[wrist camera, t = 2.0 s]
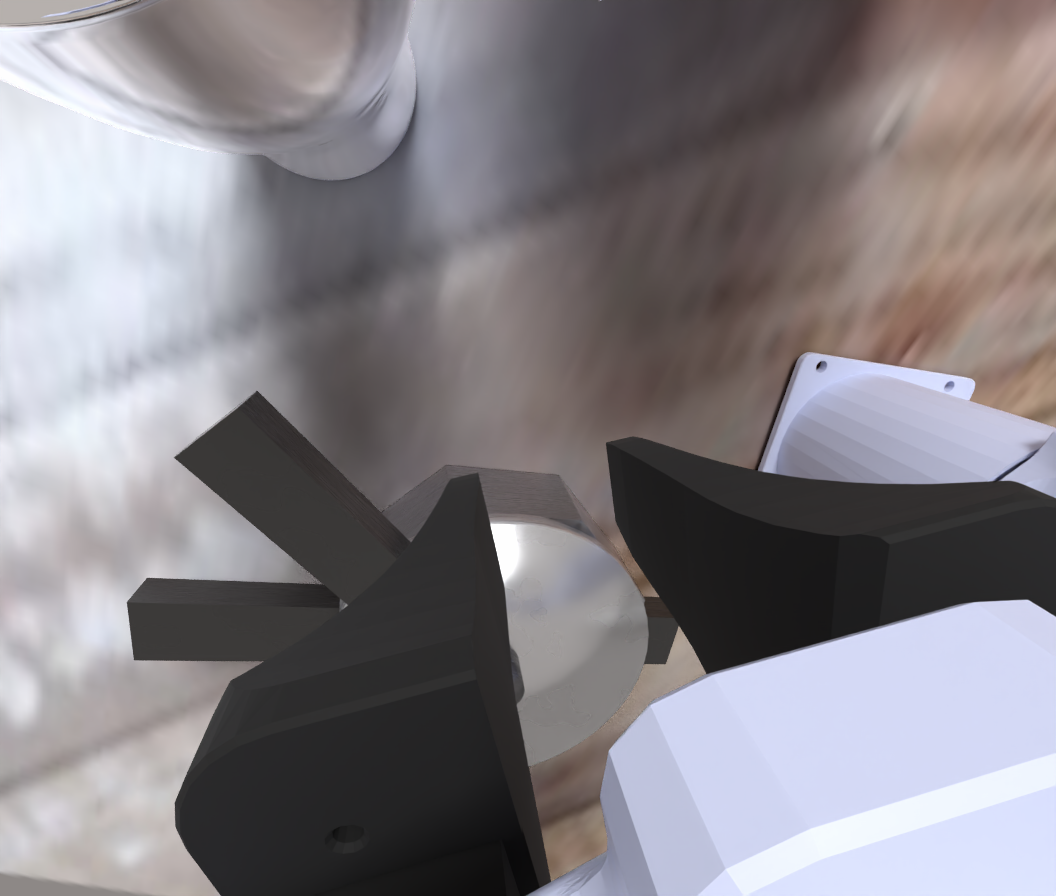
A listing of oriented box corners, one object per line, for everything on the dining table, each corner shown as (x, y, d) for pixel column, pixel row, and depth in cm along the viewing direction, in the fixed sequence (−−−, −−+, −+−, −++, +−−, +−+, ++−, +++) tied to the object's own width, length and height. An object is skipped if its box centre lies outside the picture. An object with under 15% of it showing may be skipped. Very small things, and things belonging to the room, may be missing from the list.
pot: (675, 485, 24) (717, 529, 21) (616, 680, 28) (643, 746, 25) (165, 439, 20) (104, 486, 16) (185, 681, 24) (140, 761, 20)
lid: (690, 651, 23) (718, 696, 20) (465, 798, 24) (469, 855, 22) (399, 278, 15) (393, 286, 13) (87, 522, 16) (33, 567, 14)
